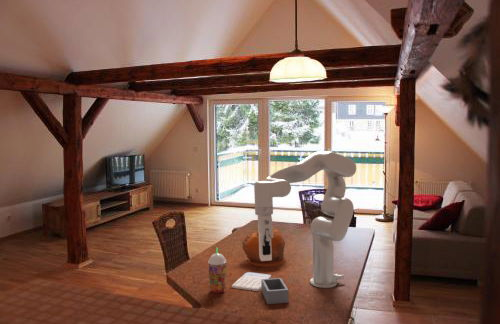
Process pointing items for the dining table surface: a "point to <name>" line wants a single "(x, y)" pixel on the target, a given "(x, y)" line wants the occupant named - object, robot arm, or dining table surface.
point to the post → (261, 256)
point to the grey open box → (275, 291)
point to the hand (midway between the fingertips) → (265, 252)
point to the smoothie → (217, 272)
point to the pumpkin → (253, 249)
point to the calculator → (250, 281)
